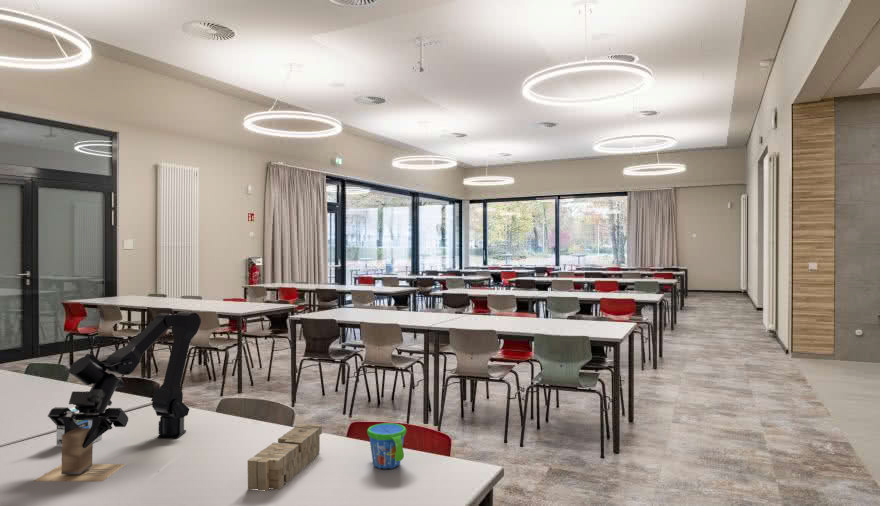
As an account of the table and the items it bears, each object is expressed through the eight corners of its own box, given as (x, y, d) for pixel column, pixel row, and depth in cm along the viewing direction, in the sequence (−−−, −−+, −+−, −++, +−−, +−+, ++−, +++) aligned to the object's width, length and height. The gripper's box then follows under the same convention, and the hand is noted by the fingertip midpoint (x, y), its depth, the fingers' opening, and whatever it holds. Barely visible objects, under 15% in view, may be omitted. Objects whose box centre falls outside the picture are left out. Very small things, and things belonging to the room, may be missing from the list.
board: (125, 467, 149) (125, 463, 149) (102, 484, 138) (102, 480, 138) (61, 467, 148) (61, 464, 148) (33, 484, 137) (33, 480, 137)
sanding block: (92, 465, 146) (92, 428, 146) (79, 474, 140) (80, 435, 140) (74, 465, 146) (75, 428, 146) (61, 474, 140) (62, 435, 140)
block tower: (275, 497, 135) (323, 451, 163) (275, 462, 134) (323, 423, 163) (246, 493, 136) (298, 449, 165) (246, 460, 136) (298, 421, 164)
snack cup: (359, 458, 158) (360, 422, 158) (394, 452, 162) (394, 418, 162) (377, 478, 144) (378, 439, 144) (414, 472, 148) (415, 434, 148)
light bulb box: (74, 450, 161) (74, 414, 161) (54, 449, 162) (55, 412, 162) (103, 439, 171) (103, 404, 171) (85, 437, 173) (85, 403, 173)
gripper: (53, 377, 147) (21, 431, 136) (123, 378, 147) (97, 432, 136) (72, 399, 155) (43, 452, 144) (138, 399, 155) (115, 453, 144)
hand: (74, 447), depth 142 cm, fingers closed on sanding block, 5 cm apart
